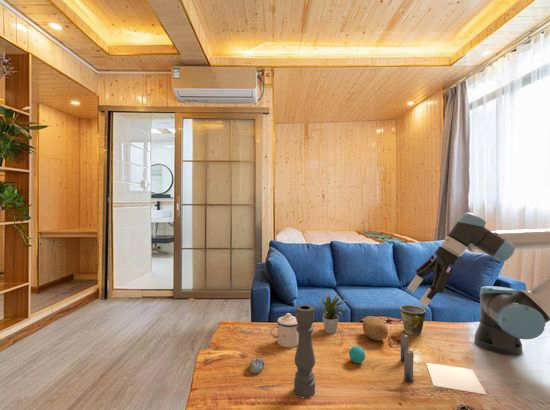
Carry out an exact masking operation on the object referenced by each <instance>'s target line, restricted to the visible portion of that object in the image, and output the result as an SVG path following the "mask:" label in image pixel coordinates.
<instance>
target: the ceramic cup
mask: <svg viewBox="0 0 550 410" xmlns="http://www.w3.org/2000/svg"><path fill="white" fill-rule="evenodd" d="M400 315H401V320H402V321H401V322H402V325H403V331H404V330H405V331H404V332H405V334H408V333H409V334H408V335H411V336H419V335H422V333H423V331H422V330H423V327H424V322H425V317H426V309H425V308H423V307H421V306H418V305H417V306H416V305H410V304H409V305H408V304H407V305H401V306H400Z"/></svg>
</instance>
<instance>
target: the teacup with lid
mask: <svg viewBox="0 0 550 410" xmlns="http://www.w3.org/2000/svg"><path fill="white" fill-rule="evenodd" d="M276 323H277V325H273V326H271V327H270V330H269V333H270V336H271V337H272V338H273V339H277V344H278V345H279V346H280V347H283V348H288V349H289V348H290V349H291V348H295V347H297V346H298V337H299V333H298V332H297V330H296V327H297V326H298V323H297V321H296V316H294V315H292V314H291V313H289V312H287V313H285V315H284V316H280V317H278V318H277V321H276ZM274 329H277V335H274V334H273V330H274Z"/></svg>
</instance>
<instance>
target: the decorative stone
mask: <svg viewBox="0 0 550 410" xmlns="http://www.w3.org/2000/svg"><path fill="white" fill-rule="evenodd" d="M264 368H265V362H264V360H263V359H262V358H259V357H256V358H252V359H251V361H250V363H249V372H250V373H251V374H255V375H256V374H260V373H261V372H262V371H263V369H264Z"/></svg>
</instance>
